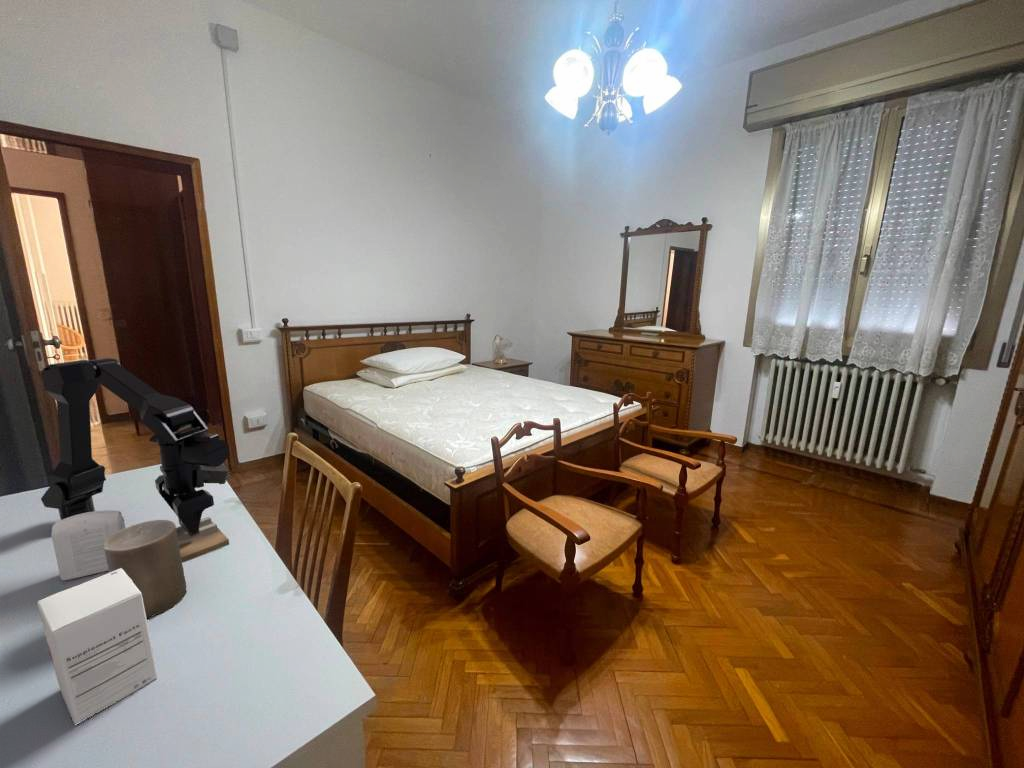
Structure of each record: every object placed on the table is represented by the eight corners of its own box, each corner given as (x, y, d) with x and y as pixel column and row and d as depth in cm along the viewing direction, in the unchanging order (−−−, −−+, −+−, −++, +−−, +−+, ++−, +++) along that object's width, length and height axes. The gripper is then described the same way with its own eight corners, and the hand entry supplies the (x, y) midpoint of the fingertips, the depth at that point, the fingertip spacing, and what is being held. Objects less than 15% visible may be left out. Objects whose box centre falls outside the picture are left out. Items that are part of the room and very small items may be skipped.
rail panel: (144, 543, 92) (142, 532, 92) (208, 521, 102) (207, 511, 101) (161, 570, 84) (158, 558, 83) (229, 544, 93) (227, 533, 92)
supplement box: (58, 690, 59) (34, 599, 56) (139, 647, 66) (122, 565, 63) (73, 729, 54) (48, 632, 51) (159, 678, 61) (142, 591, 58)
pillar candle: (199, 590, 79) (187, 518, 76) (140, 628, 70) (124, 548, 67) (164, 578, 82) (152, 508, 79) (103, 613, 73) (86, 536, 70)
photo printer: (133, 555, 88) (123, 502, 86) (129, 566, 85) (118, 511, 82) (64, 572, 83) (51, 515, 80) (57, 584, 79) (43, 526, 77)
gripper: (237, 462, 90) (245, 526, 94) (208, 440, 102) (216, 499, 105) (172, 479, 82) (184, 549, 85) (149, 453, 93) (160, 516, 97)
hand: (188, 526), depth 93 cm, fingers closed on mini dv tape, 8 cm apart
